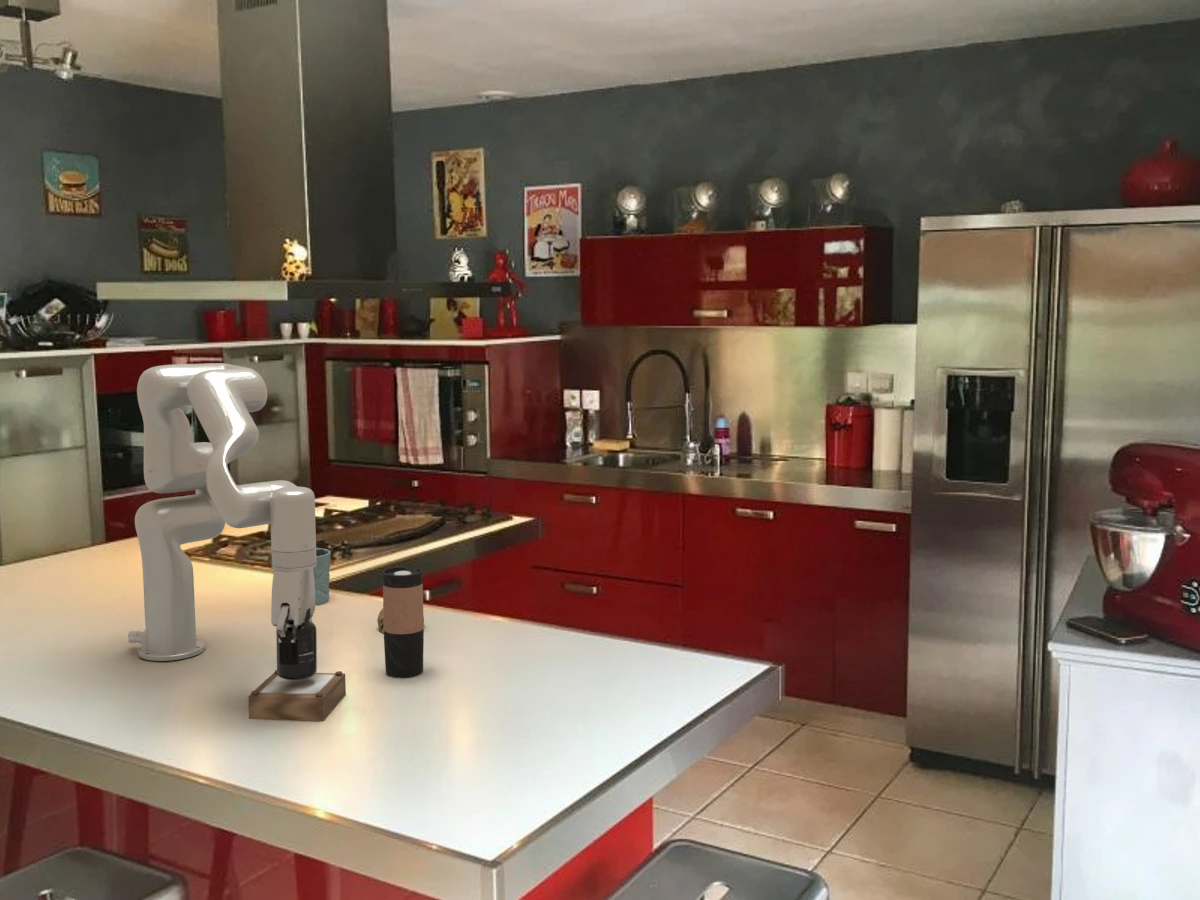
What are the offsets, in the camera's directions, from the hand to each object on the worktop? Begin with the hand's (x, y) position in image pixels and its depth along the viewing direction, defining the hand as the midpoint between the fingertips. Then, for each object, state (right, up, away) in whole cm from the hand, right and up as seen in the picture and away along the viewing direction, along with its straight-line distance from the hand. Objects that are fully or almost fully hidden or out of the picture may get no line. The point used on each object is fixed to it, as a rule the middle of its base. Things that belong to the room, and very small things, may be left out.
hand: (296, 656), depth 199 cm
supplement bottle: (0, -3, 0) cm, 3 cm away
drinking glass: (-16, 0, +71) cm, 73 cm away
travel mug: (+16, -7, +20) cm, 26 cm away
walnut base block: (0, -9, +1) cm, 9 cm away
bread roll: (+10, -3, +49) cm, 50 cm away
